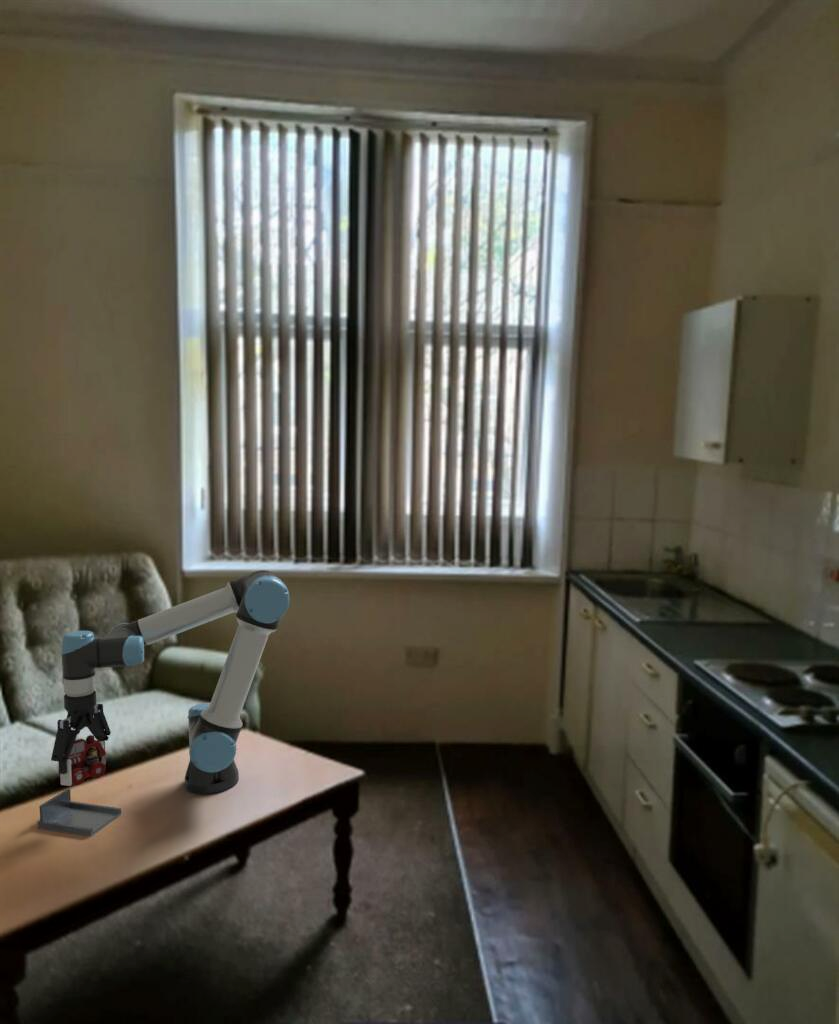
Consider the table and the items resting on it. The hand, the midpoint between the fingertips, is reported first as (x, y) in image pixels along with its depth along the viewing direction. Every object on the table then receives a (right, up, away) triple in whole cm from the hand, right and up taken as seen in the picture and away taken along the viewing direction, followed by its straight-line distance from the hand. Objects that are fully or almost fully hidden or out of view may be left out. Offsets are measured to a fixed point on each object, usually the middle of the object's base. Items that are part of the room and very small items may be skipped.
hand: (83, 774), depth 193 cm
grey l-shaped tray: (-2, -13, +2) cm, 13 cm away
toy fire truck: (0, -1, 0) cm, 1 cm away
